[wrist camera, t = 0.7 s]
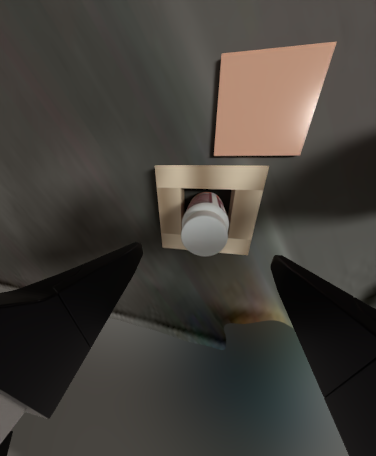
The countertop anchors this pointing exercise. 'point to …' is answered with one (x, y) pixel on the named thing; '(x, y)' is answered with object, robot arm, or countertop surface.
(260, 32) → the countertop surface
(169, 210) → the frame block
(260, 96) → the terracotta tile
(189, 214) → the pill bottle
